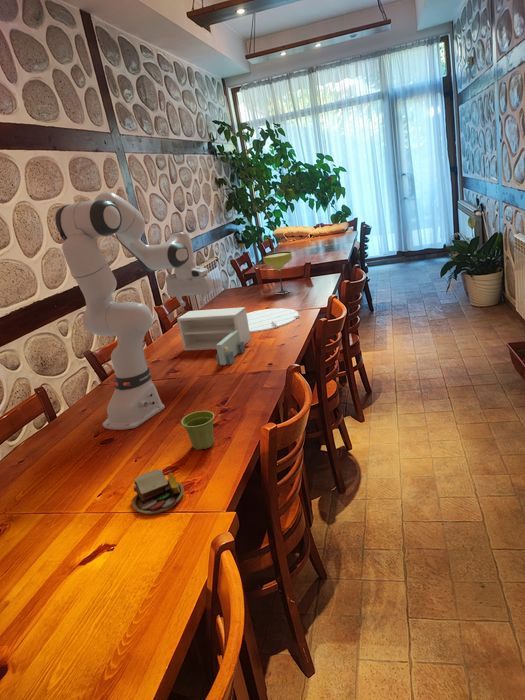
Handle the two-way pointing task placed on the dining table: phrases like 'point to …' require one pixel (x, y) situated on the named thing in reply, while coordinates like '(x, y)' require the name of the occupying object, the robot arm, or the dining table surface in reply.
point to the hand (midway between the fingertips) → (193, 305)
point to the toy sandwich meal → (156, 492)
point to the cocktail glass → (278, 262)
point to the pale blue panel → (228, 346)
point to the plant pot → (200, 429)
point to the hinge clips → (230, 355)
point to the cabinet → (212, 327)
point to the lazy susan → (270, 318)
